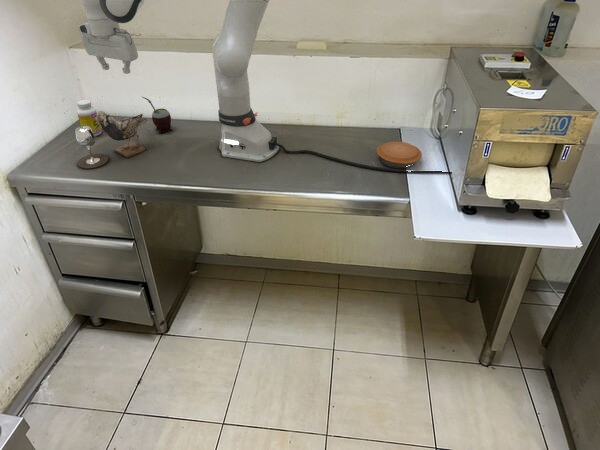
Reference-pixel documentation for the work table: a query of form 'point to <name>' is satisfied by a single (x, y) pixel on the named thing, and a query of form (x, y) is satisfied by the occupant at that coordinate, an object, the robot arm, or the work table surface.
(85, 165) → the coaster
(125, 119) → the stuffed bird
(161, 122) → the mate gourd
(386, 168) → the robot arm
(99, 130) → the supplement bottle
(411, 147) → the pie
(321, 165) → the work table surface
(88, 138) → the wineglass
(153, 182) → the work table surface
